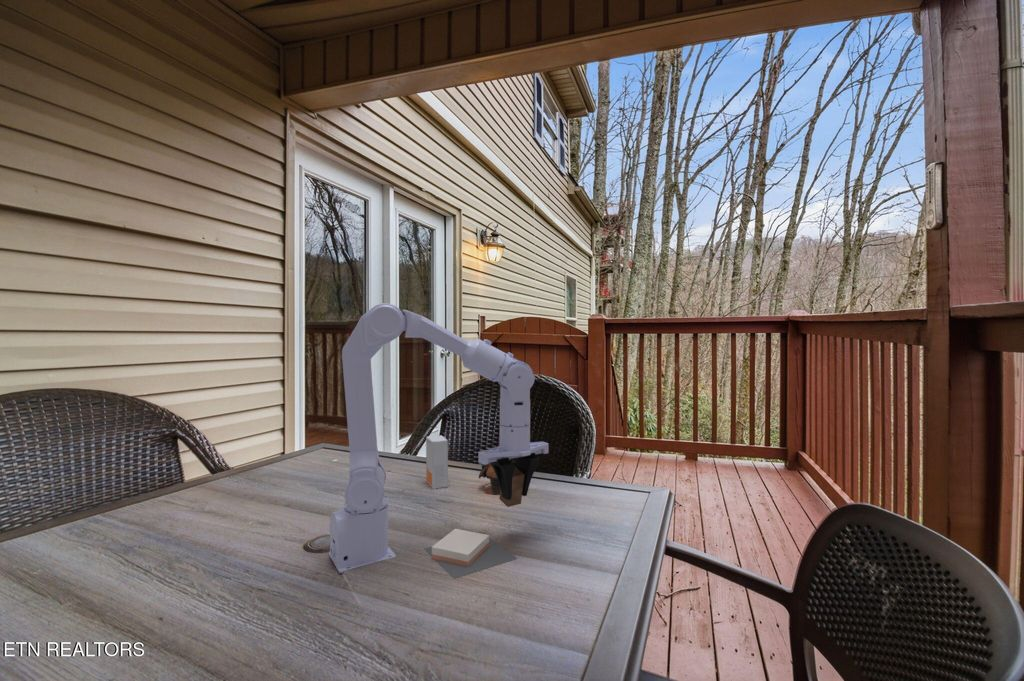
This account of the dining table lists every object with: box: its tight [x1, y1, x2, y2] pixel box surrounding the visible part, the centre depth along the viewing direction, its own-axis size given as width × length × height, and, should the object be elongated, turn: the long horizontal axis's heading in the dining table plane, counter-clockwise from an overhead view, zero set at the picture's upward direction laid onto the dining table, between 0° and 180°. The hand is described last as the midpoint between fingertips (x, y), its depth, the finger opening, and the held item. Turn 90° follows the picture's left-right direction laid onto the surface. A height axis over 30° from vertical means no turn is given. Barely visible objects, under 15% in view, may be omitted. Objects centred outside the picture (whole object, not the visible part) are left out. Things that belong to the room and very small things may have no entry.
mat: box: [424, 532, 518, 580], centre depth 82 cm, size 12×12×1 cm
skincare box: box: [425, 434, 449, 490], centre depth 120 cm, size 6×4×12 cm
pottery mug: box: [478, 463, 501, 496], centre depth 116 cm, size 12×10×8 cm
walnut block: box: [498, 467, 525, 508], centre depth 89 cm, size 3×3×6 cm
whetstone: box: [431, 528, 490, 567], centre depth 82 cm, size 8×2×7 cm
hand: (514, 496), depth 88 cm, fingers closed on walnut block, 3 cm apart
